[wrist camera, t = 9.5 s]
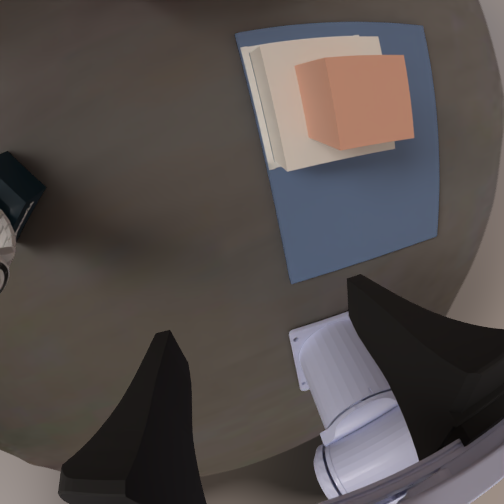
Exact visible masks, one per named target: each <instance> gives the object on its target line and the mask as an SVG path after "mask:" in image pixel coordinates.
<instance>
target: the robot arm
mask: <svg viewBox="0 0 504 504" xmlns="http://www.w3.org/2000/svg"><path fill="white" fill-rule="evenodd" d="M347 289H348V312H345V313H342V314H339V315H336V316H333V317H330V318H327V319H324V320H321V321H318V322H315V323H312V324H309V325H306V326H303V327H300V328H296V329H293V330H291V331H290V333H289V338H290V342H291V347H292V352H293V357H294V361H295V366H296V371H297V376H298V381H299V386H300V389H301V391H306V390H309V389H310V391H311V393H312V396H313V399H314V401H315V404H316V406H317V409H318V412H319V414H320V417H321V419H322V422H323V425H324V427H325V431H323V432H321V433H320V435H321V438H322V441H323V444H322V445H320V446H318V448H317V450H316V455H315V457H314V468H315V473H316V476H317V479H318V482H319V484H320V486H321V488H322V490H323V491H324V493H325V495H326V496H327V497H328V499H329V500H326V501H323V502H319V503H316V504H470V503H471V502H473V501H474V500H475V499H477V498H478V497H480V496H481V495H482V494H484V493H485V492H486V491H488V490H489V489H490V488H492V487H493V486H494V485H495V484H497V483H498V482H499V481H500V480H502V479H503V478H504V329H494V328H488V327H482V326H477V325H472V324H468V323H464V322H461V321H457V320H453V319H450V318H447V317H444V316H442V315H439V314H437V313H434V312H431V311H429V310H426V309H424V308H422V307H420V306H418V305H416V304H414V303H411V302H409V301H407V300H405V299H404V298H402V297H400V296H398V295H396V294H394V293H392V292H391V291H389V290H387V289H385V288H384V287H382V286H380V285H379V284H377V283H375V282H373V281H372V280H370V279H368V278H367V277H365V276H363V275H361V274H360V275H357V276H354V277H351V278H348V279H347ZM294 338H296V339H294ZM58 494H59V496H60V497H61V498H62V499H63V500H64V501H66V502H67V503H69V504H206V500H205V497H204V493H203V489H202V485H201V481H200V476H199V471H198V466H197V461H196V455H195V449H194V443H193V433H192V391H191V379H190V371H189V365H188V362H187V360H186V358H185V356H184V355H183V353H182V351H181V349H180V347H179V346H178V344H177V342H176V340H175V338H174V336H173V335H172V333H171V331H170V330H168V331H164V332H160V333H156V334H155V336H154V338H153V340H152V342H151V344H150V346H149V348H148V351H147V353H146V355H145V357H144V359H143V361H142V363H141V365H140V367H139V369H138V371H137V373H136V375H135V377H134V379H133V380H132V382H131V384H130V386H129V388H128V389H127V391H126V393H125V395H124V396H123V398H122V399H121V401H120V403H119V404H118V405H117V407H116V408H115V410H114V411H113V413H112V414H111V415H110V417H109V418H108V419H107V420H106V422H105V423H104V424H103V425H102V427H101V428H100V429H99V430H98V432H97V433H96V434H95V435H94V436H93V437H92V438H91V439H90V440H89V441H88V442H87V443H86V444H85V445H84V446H83V447H82V448H81V449H80V450H79V451H78V452H77V453H76V454H75V455H74V456H72V457H71V458H70V459H69V460H68V461H67V462H65V463H64V464H63V465H62V468H61V474H60V482H59V491H58Z"/></svg>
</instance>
